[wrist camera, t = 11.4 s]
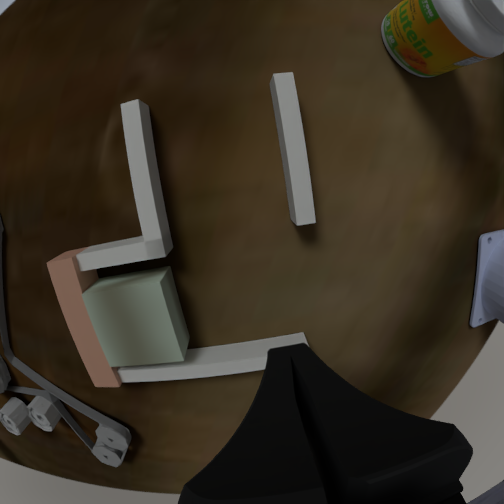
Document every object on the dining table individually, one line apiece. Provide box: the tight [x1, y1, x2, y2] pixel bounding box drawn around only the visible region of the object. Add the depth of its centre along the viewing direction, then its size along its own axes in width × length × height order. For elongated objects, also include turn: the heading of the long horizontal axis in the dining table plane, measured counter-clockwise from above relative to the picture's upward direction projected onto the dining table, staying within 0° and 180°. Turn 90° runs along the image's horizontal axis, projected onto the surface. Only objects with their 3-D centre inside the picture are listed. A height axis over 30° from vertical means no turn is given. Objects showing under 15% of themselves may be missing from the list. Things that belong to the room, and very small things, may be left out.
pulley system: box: [0, 216, 131, 467], centre depth 18 cm, size 27×5×15 cm
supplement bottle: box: [381, 0, 504, 77], centre depth 10 cm, size 5×5×10 cm
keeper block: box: [82, 266, 190, 367], centre depth 18 cm, size 5×5×3 cm
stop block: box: [47, 247, 122, 387], centre depth 17 cm, size 2×9×2 cm, turn 9°
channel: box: [76, 72, 316, 382], centre depth 17 cm, size 14×16×2 cm
